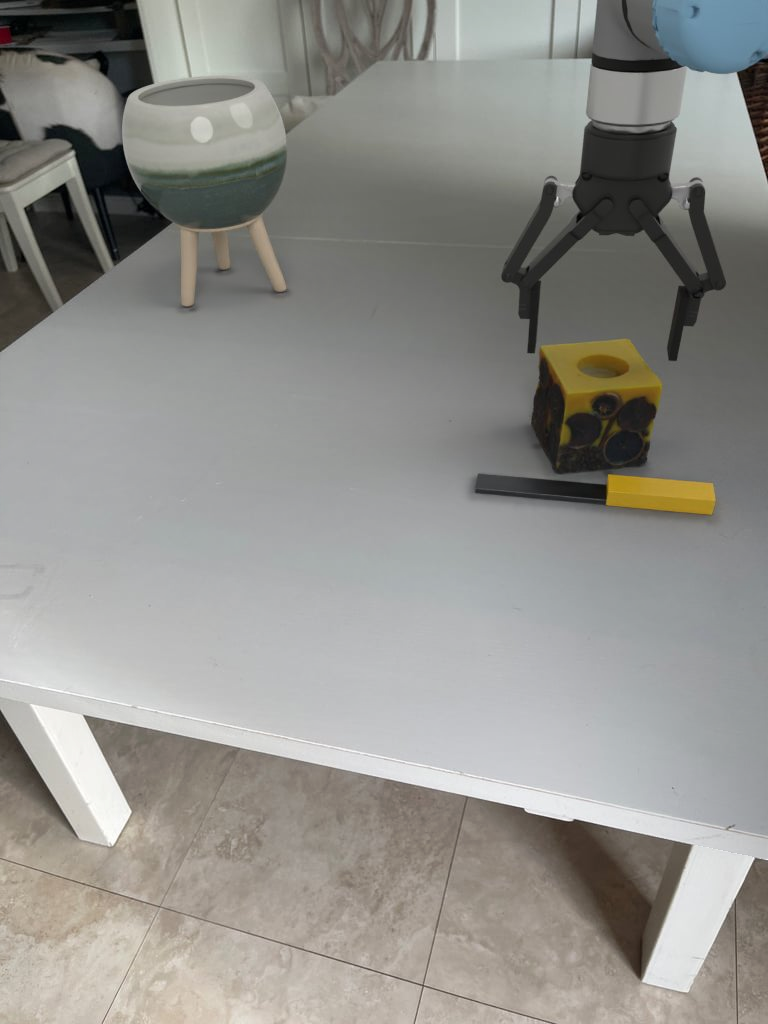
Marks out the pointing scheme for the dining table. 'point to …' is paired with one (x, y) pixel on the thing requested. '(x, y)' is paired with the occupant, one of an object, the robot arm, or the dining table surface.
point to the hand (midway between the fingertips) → (600, 351)
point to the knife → (609, 492)
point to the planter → (208, 162)
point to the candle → (594, 405)
